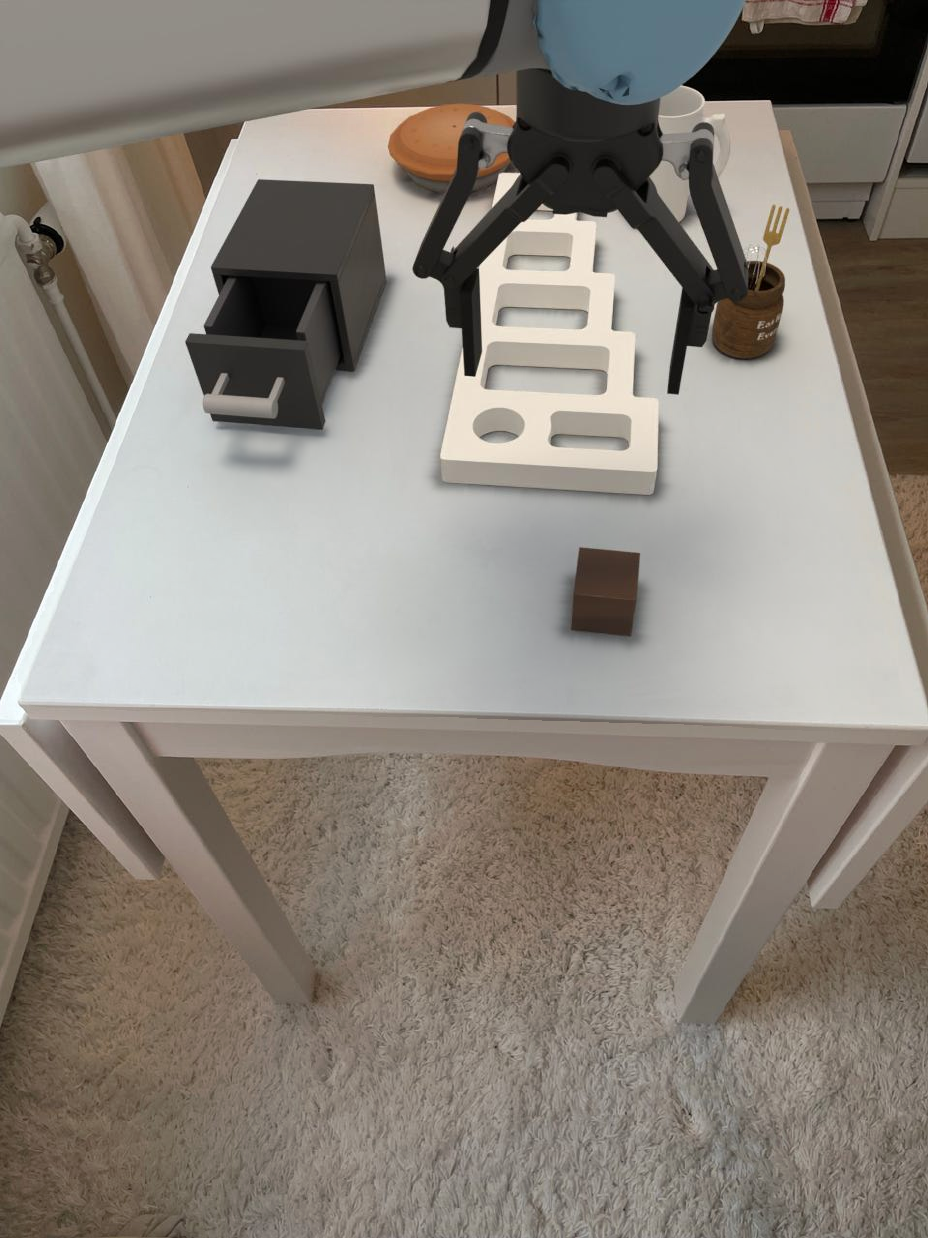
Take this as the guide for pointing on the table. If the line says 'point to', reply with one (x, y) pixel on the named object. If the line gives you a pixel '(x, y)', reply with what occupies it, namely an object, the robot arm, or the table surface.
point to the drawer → (268, 352)
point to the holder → (548, 347)
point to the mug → (681, 117)
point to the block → (605, 591)
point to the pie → (442, 145)
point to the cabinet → (313, 248)
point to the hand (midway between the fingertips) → (572, 372)
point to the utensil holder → (753, 304)
